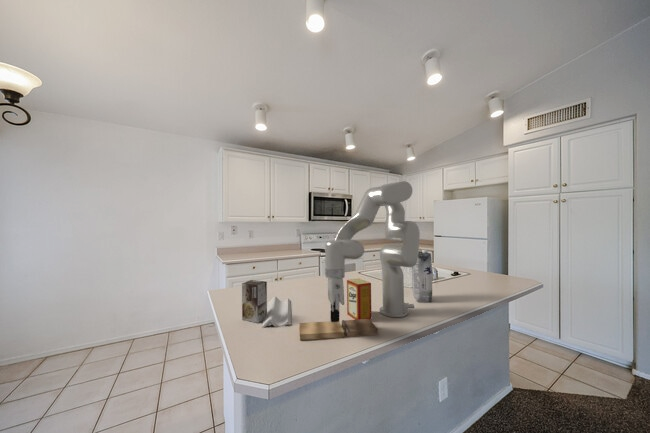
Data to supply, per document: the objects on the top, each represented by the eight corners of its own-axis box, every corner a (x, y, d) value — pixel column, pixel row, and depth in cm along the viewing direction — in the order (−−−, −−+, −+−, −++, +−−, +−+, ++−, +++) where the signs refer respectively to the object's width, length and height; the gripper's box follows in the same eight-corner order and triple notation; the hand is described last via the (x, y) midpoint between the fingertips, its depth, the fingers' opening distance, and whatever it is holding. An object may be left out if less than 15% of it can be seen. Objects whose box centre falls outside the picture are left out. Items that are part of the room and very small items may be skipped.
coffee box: (267, 317, 106) (267, 281, 107) (257, 323, 100) (257, 284, 101) (251, 314, 110) (251, 279, 111) (241, 320, 104) (241, 282, 105)
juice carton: (415, 302, 124) (414, 250, 125) (411, 296, 135) (410, 248, 136) (433, 303, 123) (432, 250, 124) (428, 297, 133) (427, 248, 134)
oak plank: (338, 325, 97) (338, 320, 97) (344, 337, 87) (344, 331, 87) (299, 328, 95) (299, 323, 95) (300, 340, 85) (300, 334, 85)
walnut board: (369, 323, 99) (369, 318, 99) (377, 334, 89) (377, 328, 89) (341, 325, 97) (341, 320, 97) (347, 337, 87) (347, 330, 88)
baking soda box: (347, 314, 110) (346, 279, 110) (359, 312, 112) (358, 277, 113) (358, 321, 101) (358, 283, 101) (371, 319, 104) (370, 282, 104)
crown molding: (290, 327, 98) (290, 318, 98) (260, 329, 96) (260, 320, 96) (290, 302, 129) (290, 295, 129) (267, 303, 127) (267, 297, 127)
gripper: (348, 276, 86) (349, 328, 85) (340, 269, 101) (340, 313, 100) (328, 277, 85) (328, 330, 84) (322, 269, 99) (322, 314, 99)
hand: (334, 321), depth 92 cm, fingers closed
